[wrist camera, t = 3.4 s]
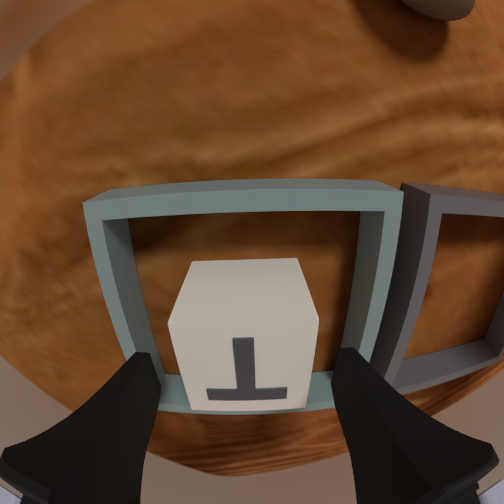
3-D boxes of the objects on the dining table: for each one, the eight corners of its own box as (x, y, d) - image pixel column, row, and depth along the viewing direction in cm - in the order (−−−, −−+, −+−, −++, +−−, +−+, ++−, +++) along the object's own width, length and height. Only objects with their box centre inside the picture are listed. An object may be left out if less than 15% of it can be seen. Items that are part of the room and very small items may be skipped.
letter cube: (296, 257, 14) (319, 321, 9) (292, 337, 16) (305, 409, 11) (192, 260, 14) (166, 325, 9) (204, 340, 16) (191, 411, 11)
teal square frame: (378, 180, 12) (403, 191, 10) (344, 376, 17) (354, 404, 15) (109, 189, 12) (82, 202, 10) (156, 381, 17) (147, 409, 15)
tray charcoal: (530, 199, 12) (553, 210, 10) (485, 343, 17) (500, 360, 15) (402, 182, 12) (430, 194, 10) (363, 373, 17) (374, 400, 15)
